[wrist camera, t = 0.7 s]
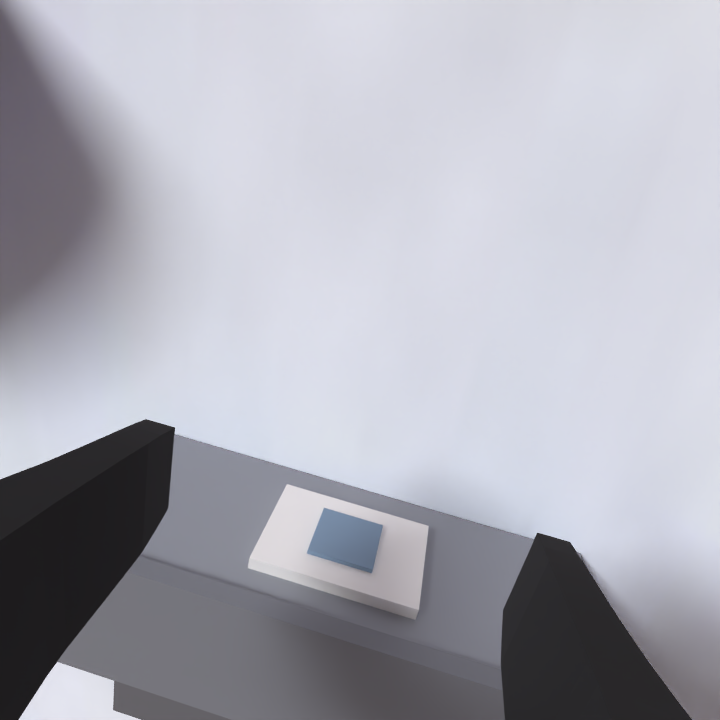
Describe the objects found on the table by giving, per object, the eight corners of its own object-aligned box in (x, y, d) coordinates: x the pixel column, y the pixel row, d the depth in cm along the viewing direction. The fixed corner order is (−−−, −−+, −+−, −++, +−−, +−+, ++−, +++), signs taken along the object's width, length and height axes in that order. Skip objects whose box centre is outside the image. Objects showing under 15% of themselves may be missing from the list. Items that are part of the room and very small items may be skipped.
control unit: (594, 544, 20) (644, 728, 14) (546, 640, 22) (571, 835, 16) (150, 414, 21) (23, 532, 15) (144, 517, 23) (31, 655, 18)
